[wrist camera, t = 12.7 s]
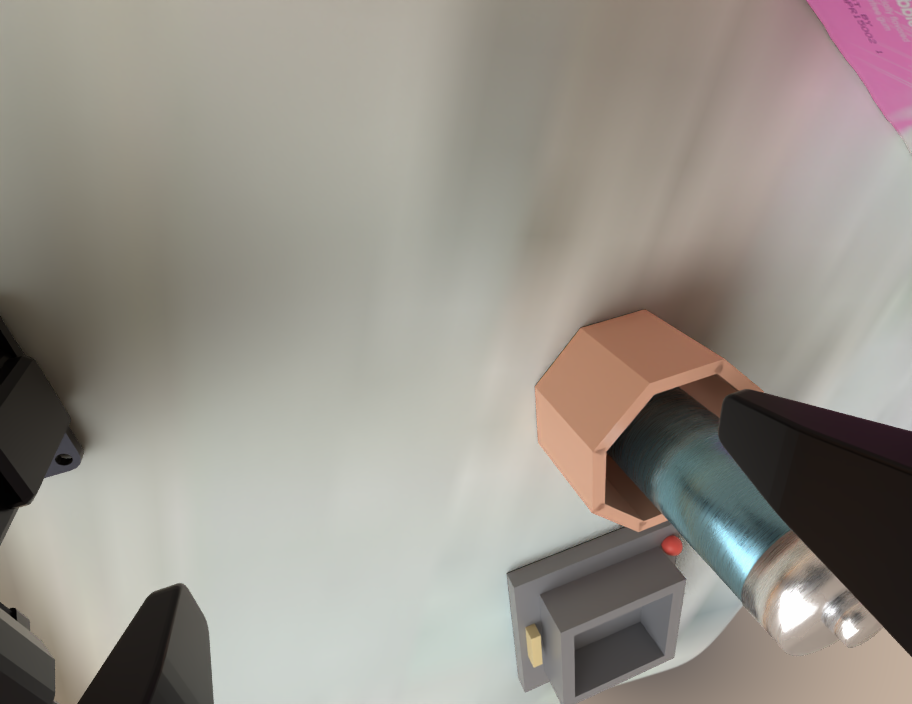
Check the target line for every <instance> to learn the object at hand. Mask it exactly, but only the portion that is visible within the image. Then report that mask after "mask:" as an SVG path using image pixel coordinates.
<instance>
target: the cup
mask: <svg viewBox="0 0 912 704" xmlns="http://www.w3.org/2000/svg"><path fill="white" fill-rule="evenodd" d="M678 386H679V387H680V388H681V389H683V390H684V391H685V392H686V393H688V394H689V395H690V396H692V397H693V398H694V399H696V400H697V401H698V402H699V403H701V404H702V405H703V406H705V407H706V408H707V409H709V410H710V411H711V412H712V413H714V414H715V415H716V416H718V417H719V418H720V413H721V407H722V402H723V399H724V398H725V397H726V396H727V395H729V394H731V393H734V392H737V391H740V390H743V389H751V390H755V391H759V392H763V393H764V391H763V390H761V389H760V388H759V387H758V386H757V385H755V384H754V383H753V382H752V381H751V380H749V379H748V378H747V377H746V376H745V375H743V374H742V373H741V372H740V371H738V370H737V369H736V368H735V367H734V366H732V365H731V364H730V363H729V362H728V361H726V360H725V359H724V358H722V357H721V356H719V355H718V354H716V353H714V352H713V351H711V350H710V349H708V348H706V347H705V346H703V345H702V344H700V343H698V342H697V341H695V340H694V339H692V338H690V337H689V336H687V335H686V334H684V333H682V332H681V331H679V330H678V329H676V328H674V327H673V326H671V325H670V324H668V323H666V322H665V321H663V320H662V319H660V318H658V317H657V316H655V315H654V314H652V313H650V312H649V311H647V310H646V309H644V310H641V311H637V312H634V313H630V314H627V315H623V316H620V317H617V318H613V319H610V320H606V321H603V322H600V323H596V324H593V325H589V326H586V327H582V328H580V329H579V331H578V332H577V333H576V334H575V336H574V337H573V338H572V340H571V341H570V342H569V343H568V345H567V346H566V347H565V349H564V350H563V351H562V352H561V354H560V355H559V356H558V358H557V359H556V360H555V361H554V363H553V364H552V365H551V367H550V368H549V369H548V370H547V372H546V373H545V374H544V376H543V377H542V378H541V379H540V381H539V382H538V383H537V385H536V386H535V397H536V415H537V433H538V443H539V444H540V446H541V447H542V448H543V450H544V451H545V452H546V454H547V455H548V456H549V457H550V459H551V460H552V461H553V463H554V464H555V465H556V467H557V468H558V469H559V470H560V472H561V473H562V474H563V476H564V477H565V478H566V480H567V481H568V482H569V483H570V485H571V486H572V487H573V489H574V490H575V491H576V493H577V494H578V495H579V496H580V498H581V499H582V500H583V502H584V503H585V504H586V506H587V507H588V508H589V509H590V511H591V512H592V513H594V514H596V515H598V516H601V517H603V518H606V519H608V520H610V521H613V522H615V523H618V524H620V525H622V526H625V527H627V528H630V529H632V530H634V531H637V532H640V531H643V530H645V529H648V528H650V527H653V526H655V525H658V524H660V523H663V522H665V521H668V520H667V519H666V518H665V516H664V515H663V514H662V513H661V512H660V511H659V510H658V509H657V508H656V507H655V505H654V504H653V503H652V502H651V501H650V500H649V499H648V498H647V497H646V495H645V494H644V493H643V492H642V491H641V490H640V489H639V488H638V487H637V486H636V484H635V483H634V482H633V481H632V480H631V479H630V478H629V477H628V476H627V475H626V473H625V472H624V471H623V470H622V469H621V468H620V467H619V466H618V465H617V463H616V462H615V461H614V460H613V459H612V458H611V457H610V456H609V455H608V454H607V452H606V451H607V450H608V449H609V448H610V447H611V446H612V444H613V443H614V442H615V441H616V440H617V438H618V437H619V436H620V435H621V434H622V432H623V431H624V430H625V429H626V428H627V426H628V425H629V424H630V423H631V422H632V421H633V419H634V418H635V417H636V416H637V415H638V413H639V412H640V411H641V410H642V409H643V407H644V406H645V405H646V404H647V403H648V401H649V400H650V399H651V398H652V397H653V396H654V394H657V393H660V392H663V391H666V390H669V389H672V388H675V387H678Z"/></svg>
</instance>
